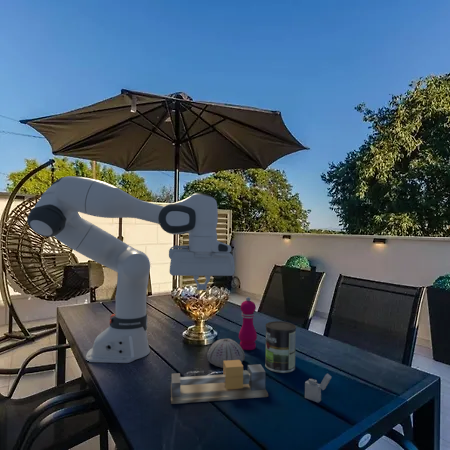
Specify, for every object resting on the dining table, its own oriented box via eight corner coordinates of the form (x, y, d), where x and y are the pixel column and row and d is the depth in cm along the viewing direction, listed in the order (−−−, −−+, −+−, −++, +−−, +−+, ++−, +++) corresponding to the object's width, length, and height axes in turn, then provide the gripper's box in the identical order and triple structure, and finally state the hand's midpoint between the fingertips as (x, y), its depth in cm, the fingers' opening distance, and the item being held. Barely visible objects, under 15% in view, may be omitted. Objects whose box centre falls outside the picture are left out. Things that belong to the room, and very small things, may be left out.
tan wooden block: (225, 389, 94) (226, 367, 94) (223, 381, 98) (223, 360, 98) (243, 388, 95) (243, 366, 95) (239, 380, 99) (239, 359, 99)
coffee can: (275, 375, 107) (275, 331, 107) (259, 363, 116) (260, 322, 116) (301, 370, 111) (302, 328, 111) (284, 358, 120) (284, 319, 120)
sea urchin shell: (239, 354, 124) (240, 332, 124) (248, 369, 111) (248, 345, 111) (204, 356, 122) (205, 334, 122) (209, 372, 109) (209, 347, 109)
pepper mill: (255, 351, 127) (256, 299, 127) (237, 349, 128) (237, 298, 128) (257, 344, 134) (258, 295, 134) (240, 343, 135) (240, 294, 135)
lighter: (304, 397, 93) (304, 369, 93) (307, 395, 94) (307, 367, 94) (329, 406, 88) (329, 376, 88) (331, 404, 90) (331, 374, 90)
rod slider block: (171, 403, 89) (171, 381, 89) (171, 386, 99) (171, 366, 99) (268, 396, 93) (268, 375, 93) (258, 380, 103) (259, 361, 103)
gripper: (169, 245, 98) (167, 292, 98) (236, 246, 102) (235, 291, 102) (169, 244, 105) (167, 288, 105) (232, 245, 108) (231, 287, 108)
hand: (201, 289), depth 103 cm, fingers closed
